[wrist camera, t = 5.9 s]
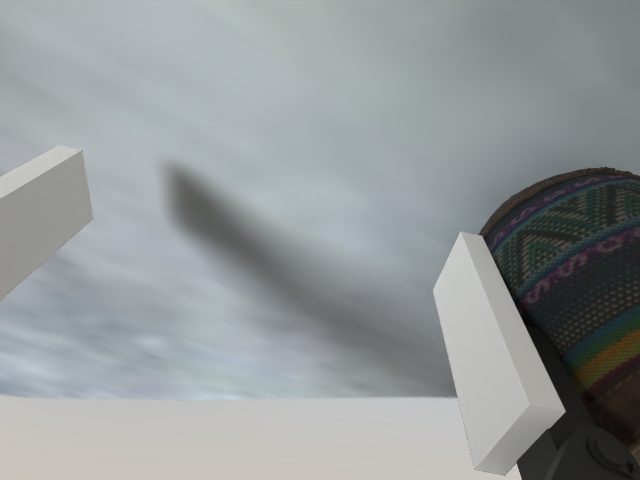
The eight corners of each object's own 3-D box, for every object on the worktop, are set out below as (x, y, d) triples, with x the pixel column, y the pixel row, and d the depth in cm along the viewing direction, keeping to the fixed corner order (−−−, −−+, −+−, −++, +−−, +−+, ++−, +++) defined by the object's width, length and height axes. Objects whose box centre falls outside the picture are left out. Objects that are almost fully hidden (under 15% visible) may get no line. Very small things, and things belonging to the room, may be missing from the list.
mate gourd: (515, 117, 12) (992, 468, 4) (678, 164, 14) (1176, 449, 7) (413, 281, 16) (566, 607, 9) (552, 297, 18) (771, 566, 11)
